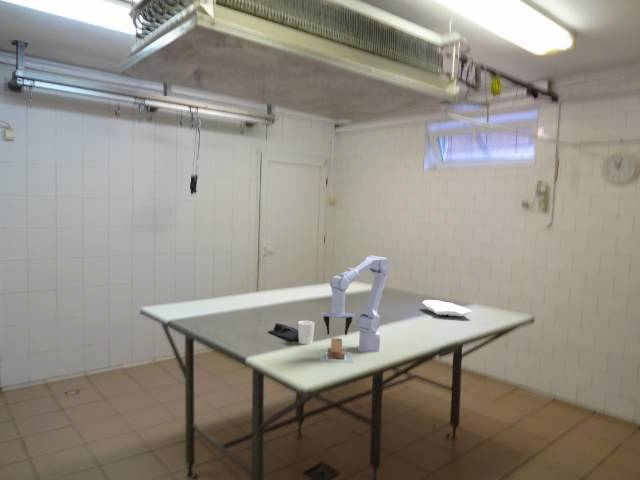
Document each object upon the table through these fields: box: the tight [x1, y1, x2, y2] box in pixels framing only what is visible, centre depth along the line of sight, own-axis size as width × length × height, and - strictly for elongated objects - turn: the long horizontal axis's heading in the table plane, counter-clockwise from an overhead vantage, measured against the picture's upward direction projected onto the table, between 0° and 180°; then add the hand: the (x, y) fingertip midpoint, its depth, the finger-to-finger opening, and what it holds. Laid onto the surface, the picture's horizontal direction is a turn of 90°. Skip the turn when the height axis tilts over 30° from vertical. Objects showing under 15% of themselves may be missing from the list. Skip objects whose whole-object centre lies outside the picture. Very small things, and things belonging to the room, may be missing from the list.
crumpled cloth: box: [421, 299, 473, 317], centre depth 294 cm, size 24×35×9 cm
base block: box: [327, 347, 345, 359], centre depth 204 cm, size 7×7×2 cm
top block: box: [330, 337, 343, 353], centre depth 204 cm, size 4×4×5 cm
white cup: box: [297, 320, 316, 345], centre depth 223 cm, size 8×8×10 cm
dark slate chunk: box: [268, 322, 299, 342], centre depth 235 cm, size 15×22×5 cm
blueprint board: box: [319, 350, 354, 364], centre depth 204 cm, size 14×14×1 cm
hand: (336, 334), depth 204 cm, fingers open, 7 cm apart
